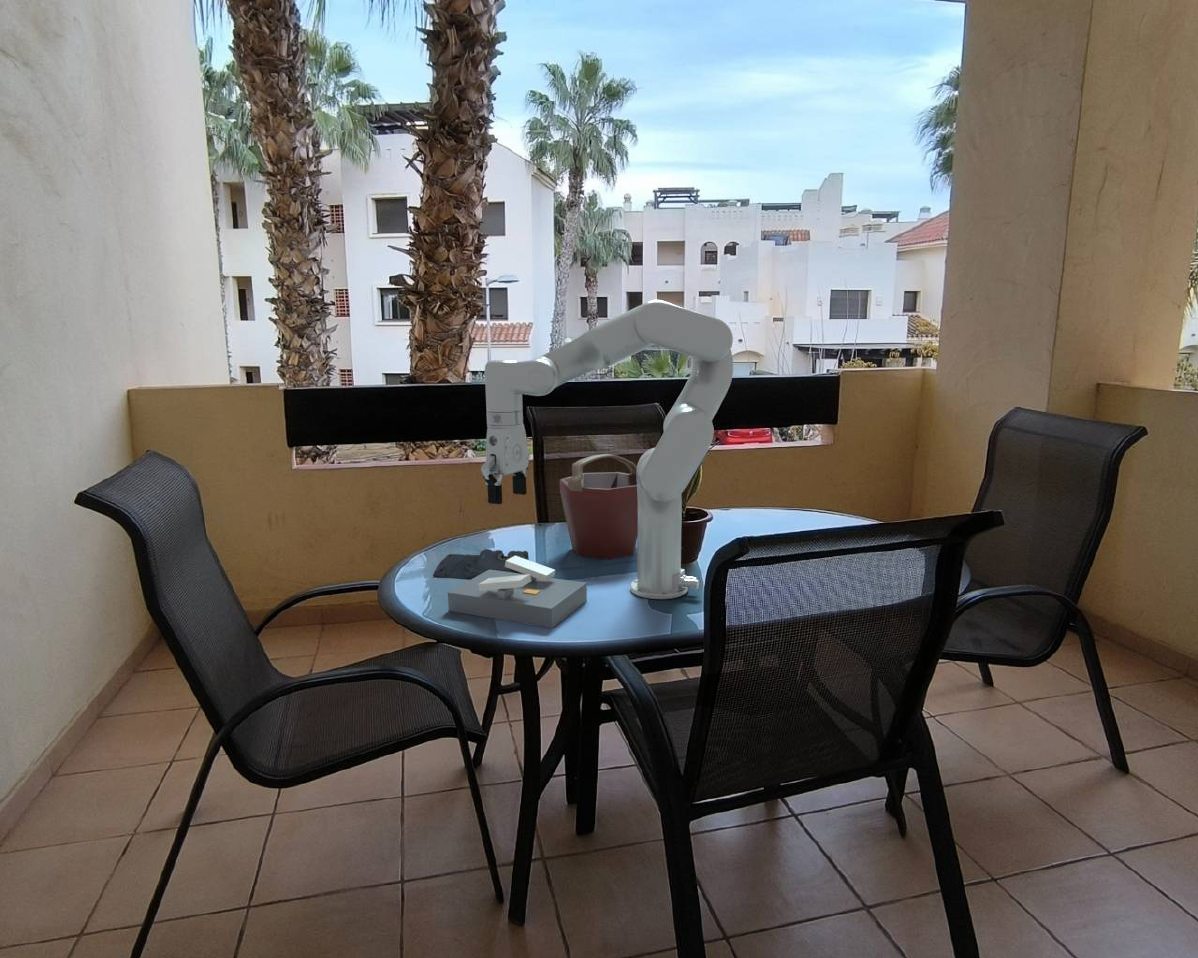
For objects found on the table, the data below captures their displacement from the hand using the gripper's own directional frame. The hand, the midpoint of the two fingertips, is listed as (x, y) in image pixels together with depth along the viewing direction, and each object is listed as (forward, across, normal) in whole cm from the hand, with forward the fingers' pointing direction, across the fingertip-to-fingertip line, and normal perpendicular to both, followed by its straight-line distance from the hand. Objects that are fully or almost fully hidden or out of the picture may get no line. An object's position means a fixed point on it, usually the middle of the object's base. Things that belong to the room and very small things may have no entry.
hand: (507, 498), depth 161 cm
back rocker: (+15, -1, -6) cm, 16 cm away
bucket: (+21, +38, -5) cm, 44 cm away
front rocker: (+15, -11, -6) cm, 20 cm away
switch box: (+21, -6, -6) cm, 23 cm away
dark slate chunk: (+22, +11, +15) cm, 29 cm away
